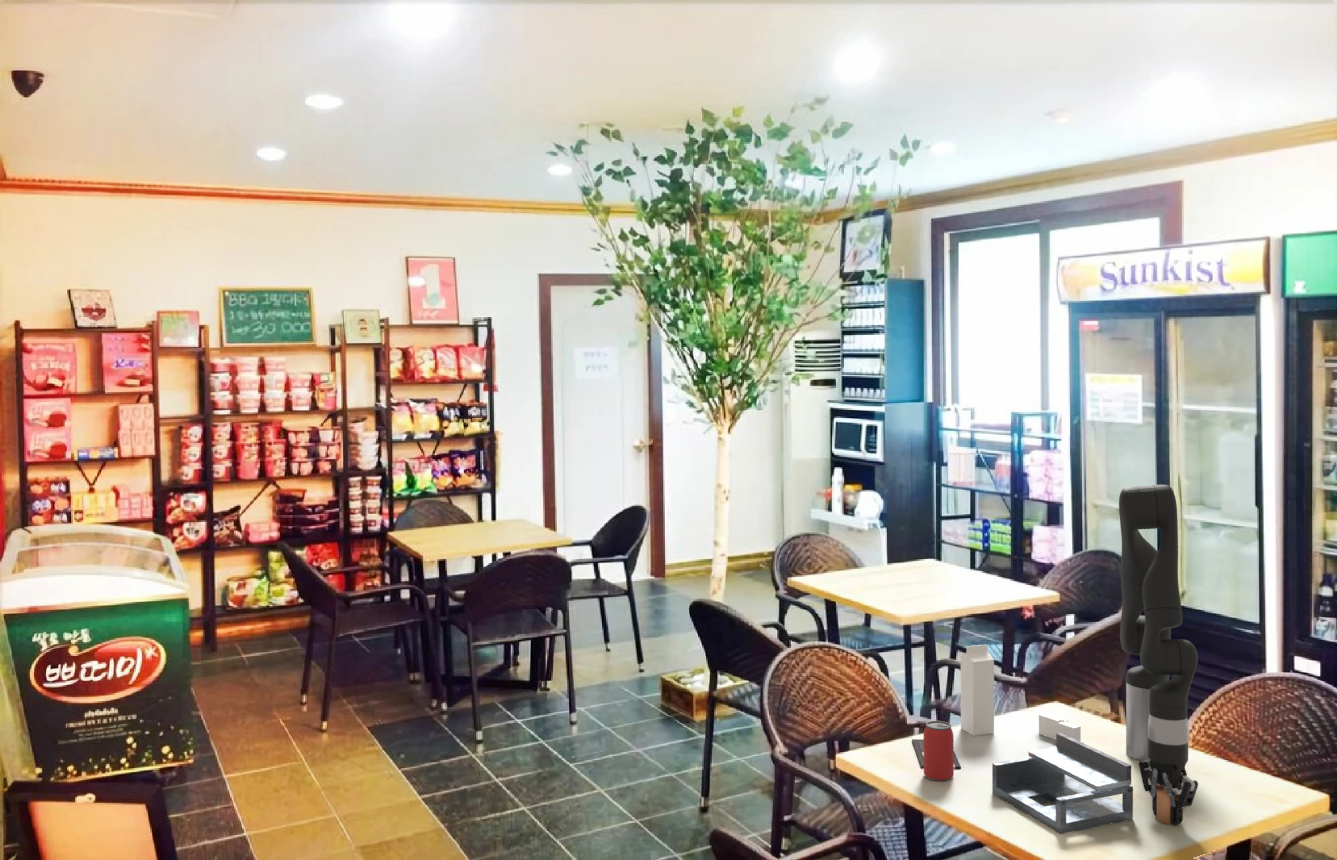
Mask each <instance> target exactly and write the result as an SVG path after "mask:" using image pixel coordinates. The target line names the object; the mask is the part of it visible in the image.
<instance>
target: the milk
mask: <svg viewBox="0 0 1337 860" xmlns="http://www.w3.org/2000/svg"><path fill="white" fill-rule="evenodd" d="M960 729H961V730H963V731H964V732H966V733H968V734H969V735H971V736H973V737H975V736H983V735H991V734H994V733H995V659H994V658H993V656H992V655H991V653H990V652H989V650H988V644H979V645H968V646H966V652H964V654H962V655H960Z"/></svg>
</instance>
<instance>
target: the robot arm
mask: <svg viewBox="0 0 1337 860" xmlns="http://www.w3.org/2000/svg"><path fill="white" fill-rule="evenodd" d="M1118 510H1119V525H1120V535H1121V560H1120V583H1121V585H1120V586H1121V599H1122V600H1121V603H1122V604H1121V616H1120V617H1121V618H1120V629H1119V630H1120V631H1119V639H1120V644H1121V648H1122V650H1123V651H1124V652H1125V653H1126V654H1129V655H1133V656H1134V655H1136V656H1139V659H1140V663H1141V665H1138V666H1133V667H1130V668H1129V669H1128V670H1127V671H1126V687H1125V688H1126V691H1125V692H1126V693H1125V694H1126V698H1125V699H1126V702H1125V703H1126V706H1125V707H1126V709H1125V710H1126V712H1125V717H1126V720H1125V722H1126V723H1125V726H1126V728H1125V736H1126V737H1125V754H1126V755H1127V756H1128V757H1130V758H1131V759H1135V760H1138V761H1139V762H1138V767H1139V771H1140V775H1141V782H1142V784H1143V788H1144V791H1145V792H1149V793H1150V796H1151V798H1152V802H1151V803H1152V806H1151V807H1152V813H1153V815H1154V816H1156V817H1157V789H1159V788H1166V791H1167V794H1168V795H1169V796H1170V802H1171V809H1170V823H1171V824H1173V825H1172V826H1177V825H1181V824H1182V822H1183V820H1184V816H1183V815H1184V814H1183V813H1184V808H1186V807H1191V806H1192V805H1193V801H1194V798H1195V795H1196V791H1197V790H1198V786H1199V782H1198V781H1197V780H1195V779H1194V780H1192V779H1190V778H1189V777H1188V773H1187V771H1186V764H1187V763H1188V762H1189V722H1188V700H1189V699H1188V698H1189V693H1190V690H1191V686H1192V682H1193V679H1194V676H1195V673H1196V670H1197V668H1198V667H1197V666H1198V662H1199V655H1198V654H1199V653H1198V650H1197V648H1196V647H1195V645H1194V644H1193V643H1192V641H1189V640H1187V639H1179V638H1178V639H1176V638H1175V639H1172V637H1171V636H1172V629H1175V628H1179V627H1180V626H1181V625H1182V624H1183V619H1184V618H1183V609H1182V601H1181V594H1180V587H1179V586H1180V585H1179V526H1178V521H1179V520H1178V519H1179V518H1178V507H1177V498H1176V495H1175V492H1174V490H1173V488H1172V487H1171V485H1168V484H1149V485H1147V484H1146V485H1133V486H1126V487H1124V488H1122V490H1121V491H1120V494H1119V497H1118ZM1154 529H1158V530H1159V529H1160V530H1161V542H1160V546H1159V549H1158V550H1157V549H1156V548H1155V547H1154V546H1153V545H1152V544H1151V543H1150V542H1148V541H1147V539H1145V538H1144V537H1143V535H1142V533H1141V532H1140V530H1154ZM1143 612H1144V615H1142V613H1143ZM1170 676H1172V678H1171V679H1170ZM1149 782H1150V783H1149ZM1176 795H1177V797H1178V800H1176Z"/></svg>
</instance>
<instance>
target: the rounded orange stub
mask: <svg viewBox="0 0 1337 860" xmlns="http://www.w3.org/2000/svg"><path fill="white" fill-rule="evenodd" d="M1176 800H1178V797H1177V795H1176ZM1170 809H1171V802H1170V796H1169V795H1168V794H1167V791H1166V788H1159V789H1157V816H1156V820H1157V821H1156V822H1159V823H1161V824H1164V825H1172V826H1174V825H1173V824H1171V823H1170Z"/></svg>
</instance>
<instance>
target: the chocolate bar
mask: <svg viewBox="0 0 1337 860" xmlns="http://www.w3.org/2000/svg"><path fill="white" fill-rule="evenodd" d="M911 742H912V746H913V748H914V752H915V754H916V758H917V760H918V763H919V766H920V769H924V738H923V739H914V738H912V739H911ZM961 769H962V766H961V764H960V762H959V759H958V757H957V755H956V753H955V751H954V770H961Z"/></svg>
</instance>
